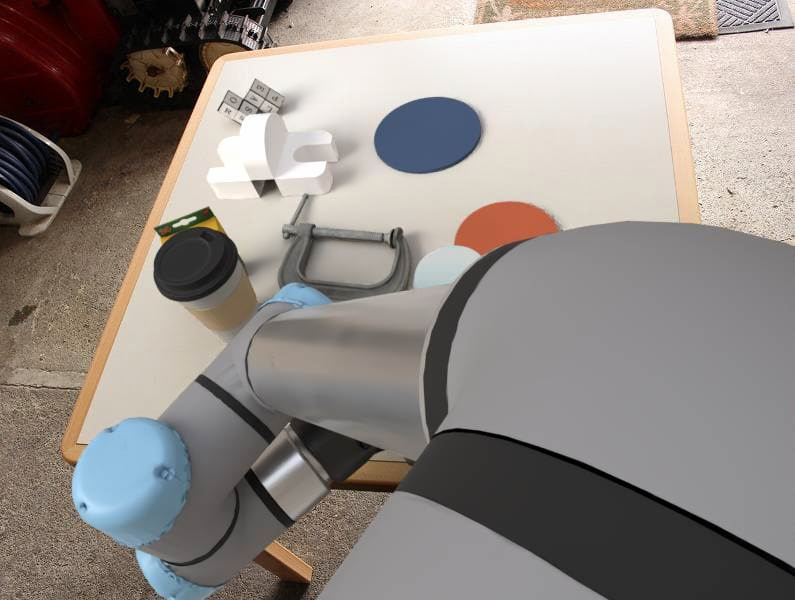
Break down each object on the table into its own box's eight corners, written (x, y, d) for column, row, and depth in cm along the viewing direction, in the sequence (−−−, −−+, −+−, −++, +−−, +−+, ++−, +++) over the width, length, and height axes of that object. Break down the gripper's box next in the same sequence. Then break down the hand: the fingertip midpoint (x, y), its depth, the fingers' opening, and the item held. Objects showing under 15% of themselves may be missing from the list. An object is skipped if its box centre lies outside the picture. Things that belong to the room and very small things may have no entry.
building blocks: (271, 116, 103) (228, 89, 100) (284, 97, 99) (239, 68, 96) (261, 137, 101) (216, 110, 97) (275, 119, 97) (228, 90, 93)
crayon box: (197, 299, 81) (153, 243, 71) (193, 283, 83) (150, 227, 73) (249, 277, 81) (212, 219, 72) (244, 261, 83) (208, 203, 74)
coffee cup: (287, 298, 78) (242, 221, 66) (266, 363, 73) (213, 293, 61) (221, 295, 81) (166, 220, 68) (196, 358, 76) (132, 289, 63)
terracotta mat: (581, 251, 74) (582, 248, 74) (490, 302, 72) (490, 299, 72) (520, 189, 82) (520, 186, 81) (436, 234, 80) (435, 231, 79)
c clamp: (251, 293, 80) (243, 280, 78) (305, 196, 88) (299, 183, 86) (393, 324, 73) (388, 312, 71) (437, 217, 81) (435, 203, 79)
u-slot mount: (340, 147, 93) (322, 94, 85) (330, 194, 88) (309, 142, 80) (231, 154, 96) (204, 104, 88) (215, 200, 91) (184, 150, 83)
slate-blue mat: (502, 140, 87) (502, 136, 87) (405, 190, 85) (405, 187, 85) (446, 86, 96) (445, 82, 96) (357, 130, 94) (356, 127, 94)
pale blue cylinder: (499, 410, 65) (488, 306, 48) (438, 407, 66) (408, 306, 50) (501, 356, 68) (491, 242, 52) (443, 354, 70) (416, 244, 53)
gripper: (269, 399, 62) (439, 266, 68) (385, 551, 52) (574, 379, 57) (240, 364, 56) (430, 221, 61) (365, 528, 46) (579, 339, 51)
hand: (499, 298), depth 59 cm, fingers closed on pale blue cylinder, 6 cm apart
